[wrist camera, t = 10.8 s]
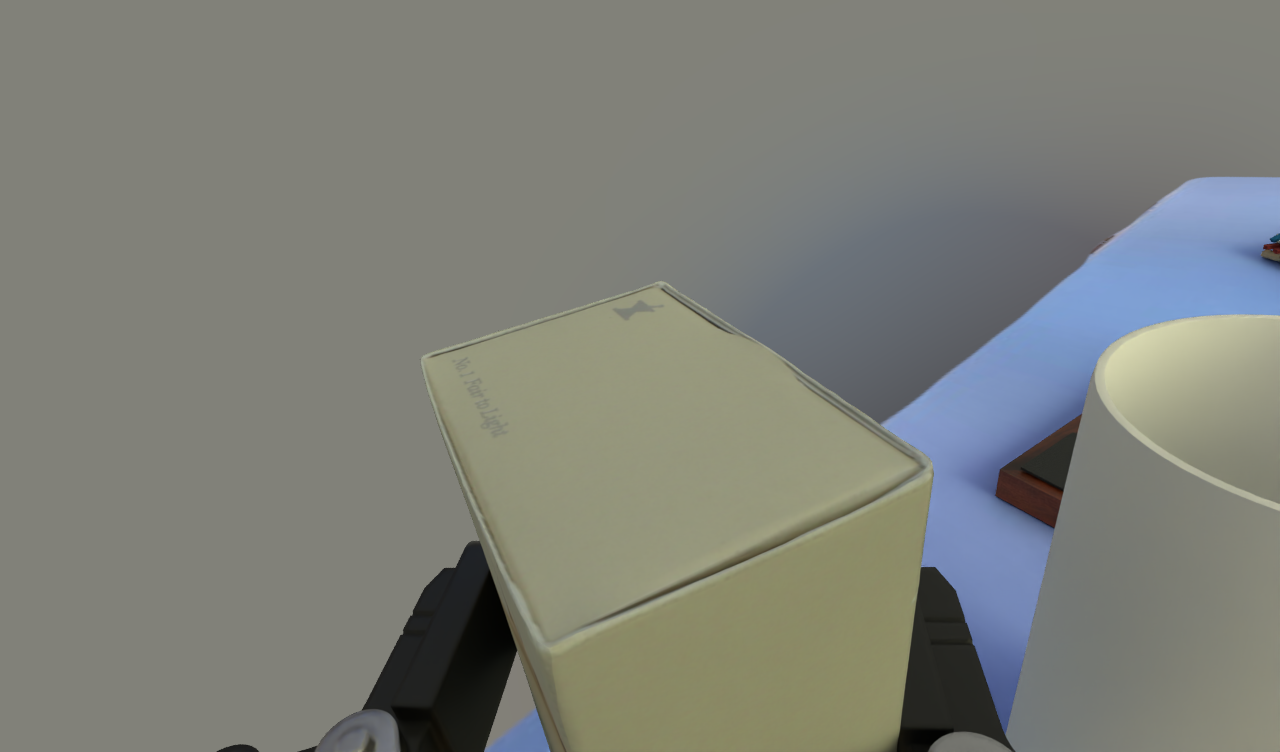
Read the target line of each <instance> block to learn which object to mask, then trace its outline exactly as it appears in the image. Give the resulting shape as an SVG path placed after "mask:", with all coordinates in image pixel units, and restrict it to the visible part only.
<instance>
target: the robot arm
mask: <svg viewBox="0 0 1280 752" xmlns="http://www.w3.org/2000/svg"><path fill="white" fill-rule="evenodd" d="M516 652H517V648H516V645H515V642H514V639H513V636H512V633H511V630H510V627H509V624H508V621H507V618H506V615H505V612H504V609H503V606H502V603H501V600H500V597H499V594H498V592H497V589H496V586H495V583H494V580H493V577H492V574H491V571H490V569H489V566H488V563H487V560H486V557H485V554H484V551H483V548H482V546H481V543H480V541H471V542H469V543H468V544H467V546H466V547H465V549H464V551H463V554H462V555H461V558H460V560H459V562H458V564H457V566H456V568H444V569H443V570H442V571H441V572H440V573H439V574H438V575H437V576H436V577H435V578H434V579H433V580H432V581H431V582H430V583H429V584H428V585H427V586H426V587H425V588H424V590H423V592H422V594H421V596H420V598H419V600H418V602H417V604H416V606H415V608H414V610H413V615H412V616H410V618H409V620H408V622H407V623H406V625H405V627H404V629H403V635H400V637H399V640H398V641H397V643H396V646H395V647H394V649H393V651H392V653H391V655H390V657H389V659H388V661H387V663H386V665H385V667H384V669H383V671H382V672H381V674H380V677H379V678H378V680H377V682H376V684H375V686H374V688H373V690H372V692H371V694H370V696H369V698H368V700H367V702H366V704H365V705H364V707H363V709H362V711H359V712H356V713H354V714H352V715H350V716H348V717H346V718H344V719H343V720H341V721H340V722H338V723H337V724H336V725H335V726H333V727H332V728H331V729H330V730H329V732H327V734H326V735H325V736H324V737H323V739H322V740H321V741H320V743H319V745H318V746H315V747H312V748H309V749H306V750H302V751H299V752H484V750H485V747H486V743H487V740H488V737H489V734H490V731H491V728H492V725H493V722H494V719H495V716H496V713H497V710H498V707H499V704H500V701H501V698H502V695H503V692H504V689H505V686H506V683H507V679H508V677H509V673H510V671H511V667H512V664H513V661H514V658H515V655H516ZM217 752H259V751H258V750H257V749H256V748H254V747H252V746H249V745H241V744H240V745H233V746H230V747H226V748H224V749H221V750H219V751H217ZM897 752H1015V750H1014V749H1013V748H1012V746H1011V745H1010V743H1009V741H1008V740H1007V738H1006V736H1005V734H1004V731H1003V729H1002V726H1001V723H1000V720H999V717H998V714H997V711H996V708H995V705H994V702H993V699H992V697H991V694H990V691H989V688H988V685H987V682H986V679H985V676H984V673H983V670H982V667H981V664H980V661H979V658H978V655H977V652H976V649H975V646H974V645H973V643H972V637H971V635H970V632H969V629H968V626H967V623H965V617H964V614H963V611H962V608H961V605H960V602H959V599H958V596H957V593H956V590H955V589H954V588H953V587H952V586H951V585H950V584H949V582H948V581H947V580H946V579H945V578H944V577H943V576H942V575H941V573H940V572H939V571H938V570H937V569H936V568H935V567H921V570H920V580H919V587H918V593H917V599H916V606H915V614H914V622H913V630H912V637H911V645H910V653H909V661H908V668H907V676H906V683H905V691H904V699H903V707H902V715H901V725H900V733H899V738H898V744H897Z"/></svg>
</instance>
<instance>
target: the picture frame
mask: <svg viewBox="0 0 1280 752" xmlns="http://www.w3.org/2000/svg"><path fill="white" fill-rule="evenodd" d="M1081 417H1082V414H1081V415H1079V416H1078V417H1076V418H1075V419H1073V420H1072V421H1070V422H1069V423H1068V424H1066V425H1065V426H1063V427H1062V428H1060V429H1059V430H1057V431H1056V432H1054V433H1053V434H1051V435H1050V436H1048V437H1047V438H1045V439H1044V440H1042V441H1041V442H1039V443H1038V444H1037V445H1035V446H1034V447H1032V448H1031V449H1029V450H1028V451H1026V452H1025V453H1023V454H1022V455H1020V456H1019V457H1017V458H1016V459H1014V460H1013V461H1011V462H1010V463H1009V464H1007V465H1006V466H1004V467H1003V468H1001V469H1000V471H999V477H998V483H997V489H996V495H995V496H997V497H999V498H1001V499H1002V500H1004V501H1006V502H1008V503H1010V504H1012V505H1013V506H1015V507H1017V508H1019V509H1021V510H1023V511H1024V512H1026V513H1028V514H1030V515H1032V516H1034V517H1035V518H1037V519H1039V520H1041V521H1043V522H1045V523H1046V524H1048V525H1050V526H1052V527H1054V528H1055V525H1056V521H1057V517H1058V513H1059V509H1060V504H1061V500H1062V496H1063V492H1064V488H1065V483H1066V479H1067V475H1068V471H1069V467H1070V462H1071V458H1072V454H1073V450H1074V446H1075V442H1076V437H1077V433H1078V429H1079V425H1080V421H1081Z"/></svg>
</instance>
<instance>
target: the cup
mask: <svg viewBox="0 0 1280 752" xmlns="http://www.w3.org/2000/svg"><path fill="white" fill-rule="evenodd" d="M1005 736H1006V738H1007V740H1008V741H1009V743H1010V745H1011V746H1012V748H1013V749H1014V750H1015V752H1280V316H1275V315H1215V316H1201V317H1192V318H1184V319H1178V320H1172V321H1167V322H1162V323H1158V324H1154V325H1151V326H1147V327H1144V328H1141V329H1139V330H1136V331H1133V332H1131V333H1129V334H1127V335H1125V336H1123V337H1121V338H1120V339H1118V340H1117V341H1115V342H1114V343H1112V344H1111V345H1110V346H1109V347H1108V348H1107V349H1106V350H1105V351H1104V352H1103V353H1102V355H1101V356H1100V358H1099V360H1098V362H1097V364H1096V366H1095V369H1094V371H1093V374H1092V376H1091V380H1090V384H1089V388H1088V392H1087V396H1086V400H1085V404H1084V408H1083V413H1082V417H1081V421H1080V425H1079V429H1078V433H1077V437H1076V442H1075V446H1074V450H1073V454H1072V458H1071V462H1070V467H1069V471H1068V475H1067V479H1066V483H1065V488H1064V492H1063V496H1062V500H1061V504H1060V509H1059V513H1058V517H1057V521H1056V525H1055V530H1054V534H1053V538H1052V542H1051V546H1050V551H1049V555H1048V559H1047V563H1046V567H1045V572H1044V576H1043V580H1042V584H1041V588H1040V593H1039V597H1038V601H1037V605H1036V609H1035V614H1034V618H1033V622H1032V626H1031V630H1030V635H1029V639H1028V643H1027V647H1026V651H1025V656H1024V660H1023V664H1022V668H1021V672H1020V677H1019V681H1018V685H1017V689H1016V693H1015V698H1014V702H1013V706H1012V710H1011V714H1010V719H1009V723H1008V727H1007V731H1006V735H1005Z"/></svg>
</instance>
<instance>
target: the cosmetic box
mask: <svg viewBox="0 0 1280 752" xmlns="http://www.w3.org/2000/svg"><path fill="white" fill-rule="evenodd" d="M420 363H421V368H422V373H423V377H424V380H425V384H426V388H427V392H428V395H429V398H430V401H431V404H432V406H433V410H434V413H435V416H436V419H437V422H438V425H439V428H440V431H441V434H442V437H443V439H444V442H445V445H446V447H447V450H448V453H449V456H450V459H451V462H452V464H453V467H454V470H455V473H456V475H457V478H458V481H459V484H460V486H461V489H462V492H463V495H464V498H465V500H466V503H467V506H468V509H469V511H470V514H471V517H472V520H473V523H474V525H475V528H476V531H477V534H478V537H479V540H480V543H481V546H482V548H483V551H484V554H485V557H486V560H487V563H488V566H489V569H490V571H491V574H492V577H493V580H494V583H495V586H496V589H497V592H498V594H499V597H500V600H501V603H502V606H503V609H504V612H505V615H506V618H507V621H508V624H509V627H510V630H511V633H512V636H513V639H514V642H515V645H516V648H517V651H518V654H519V657H520V659H521V663H522V665H523V668H524V671H525V674H526V677H527V680H528V683H529V687H530V690H531V693H532V696H533V699H534V702H535V706H536V709H537V712H538V715H539V718H540V721H541V724H542V727H543V730H544V733H545V736H546V739H547V742H548V745H549V748H550V751H551V752H897V744H898V738H899V733H900V725H901V715H902V707H903V699H904V691H905V683H906V676H907V668H908V661H909V653H910V645H911V637H912V630H913V622H914V614H915V606H916V599H917V593H918V587H919V580H920V570H921V562H922V555H923V547H924V539H925V532H926V525H927V518H928V511H929V504H930V497H931V490H932V483H933V476H934V471H933V465H932V461H931V460H930V458H928V457H927V456H926V455H925V454H924V453H922V452H921V451H919V450H918V449H916V448H915V447H913V446H911V445H910V444H908V443H907V442H905V441H903V440H902V439H900V438H899V437H897V436H896V435H894V434H893V433H891V432H890V431H888V430H887V429H885V428H884V427H882V426H881V425H880V424H878V423H877V422H875V421H874V420H873V419H871V418H870V417H868V416H867V415H866V414H864V413H863V412H861V411H860V410H858V409H857V408H855V407H853V406H852V405H850V404H849V403H847V402H845V401H844V400H843V399H842V398H840V397H839V396H838V395H837V394H835V393H833V392H831V391H830V390H828V389H826V388H825V387H823V386H822V385H821V384H819V383H818V382H817V381H815V380H814V379H812V378H810V377H809V376H807V375H805V374H804V373H803V372H801V371H800V370H799V369H798V368H797V367H795V366H794V365H793V364H791V363H790V362H788V361H787V360H785V359H784V358H783V357H781V356H780V355H778V354H777V353H775V352H774V351H772V350H771V349H769V348H768V347H766V346H764V345H763V344H761V343H760V342H758V341H756V340H755V339H753V338H752V337H750V336H748V335H746V334H744V333H742V332H741V331H739V330H738V329H736V328H734V327H733V326H731V325H730V324H728V323H727V322H725V321H724V320H722V319H721V318H719V317H718V316H715V315H714V314H713V313H712V312H710V311H709V310H707V309H706V308H704V307H702V306H700V305H699V304H698V303H696V302H694V301H693V300H691V299H690V298H688V297H686V296H684V295H682V294H681V293H680V292H679V291H677V290H676V289H674V288H673V287H672V286H670V285H669V284H668V283H666V282H663V281H659V282H656V283H654V284H652V285H649V286H645V287H642V288H640V289H637V290H635V291H631V292H627V293H623V294H621V295H617V296H614V297H610V298H607V299H604V300H601V301H598V302H594V303H590V304H588V305H585V306H582V307H578V308H575V309H571V310H568V311H566V312H561V313H558V314H555V315H552V316H548V317H545V318H541V319H539V320H536V321H532V322H529V323H526V324H523V325H519V326H515V327H512V328H508V329H506V330H502V331H498V332H496V333H493V334H490V335H487V336H484V337H481V338H477V339H474V340H471V341H467V342H464V343H461V344H457V345H454V346H451V347H447V348H443V349H440V350H437V351H434V352H431V353H428V354H426V355H424V356H422V357H421V359H420Z"/></svg>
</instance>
